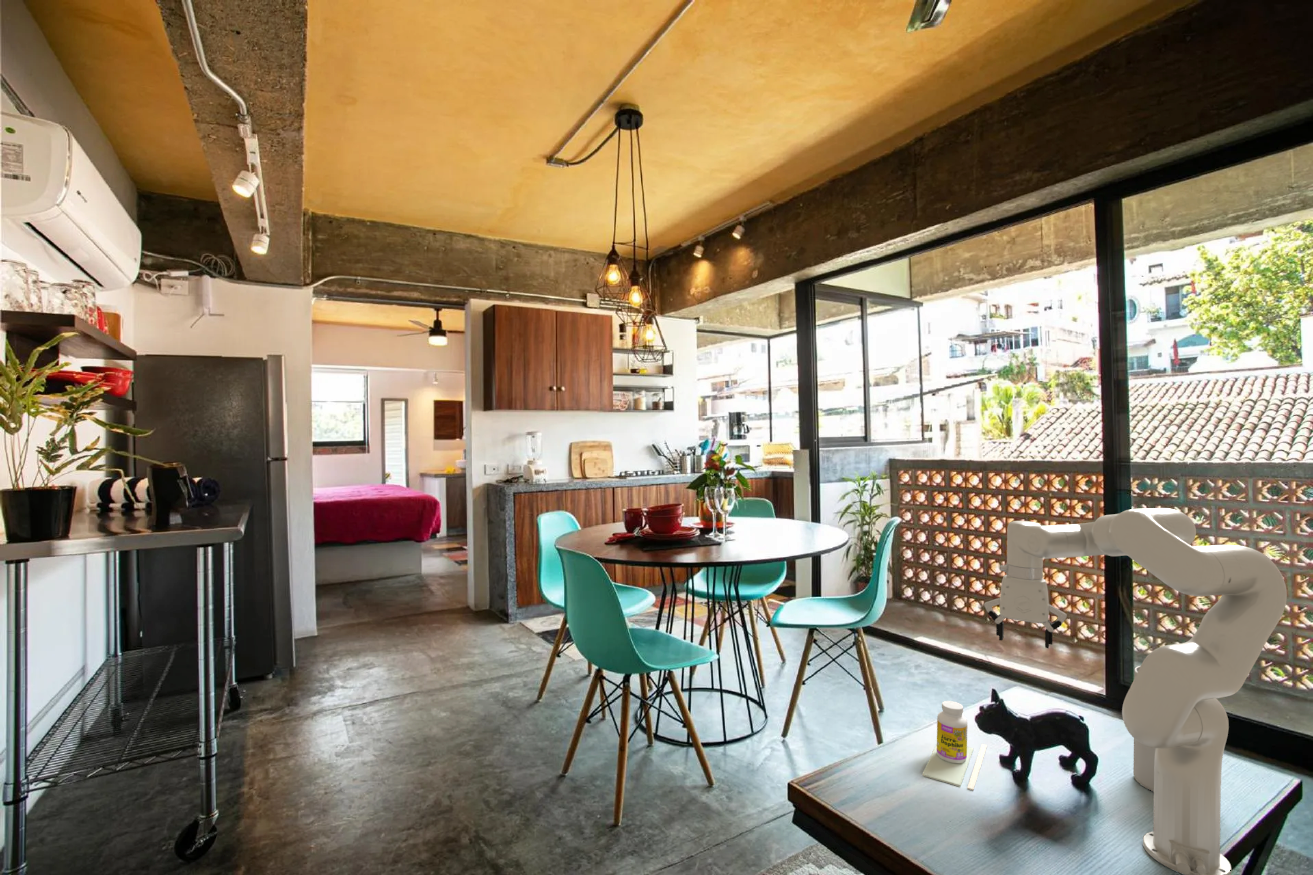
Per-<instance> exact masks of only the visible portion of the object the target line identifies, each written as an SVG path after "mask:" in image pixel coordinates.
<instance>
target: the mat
mask: <svg viewBox="0 0 1313 875" xmlns="http://www.w3.org/2000/svg"><path fill="white" fill-rule="evenodd" d="M973 752H974V747H970V746H967V759H966V761H965V762H963V763H951V762H947V761H945V760H943V759H941V758H940V757H939V756H938V754H937V743H936V744H935V747H934V749H933V751H932V753H931V755H930V757H929V759H928V762H927V764H926V765H925V768H924V770H923V772H922V776H923V777H925V778H928V779H932V780H936V781H939V782H943V783H946V784H949V785H953V786H956V787H959V788H961V786H962V783H963V780H964V777H965V775H966V772H967V769H968V768H969V767H968V766H969V764H970V760H971V758H972V755H973Z"/></svg>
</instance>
